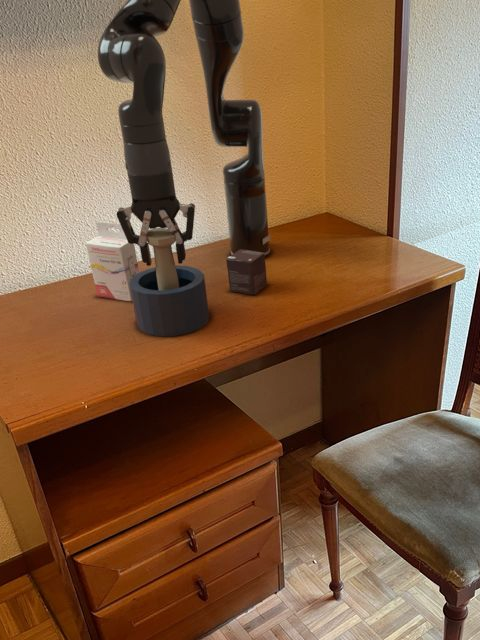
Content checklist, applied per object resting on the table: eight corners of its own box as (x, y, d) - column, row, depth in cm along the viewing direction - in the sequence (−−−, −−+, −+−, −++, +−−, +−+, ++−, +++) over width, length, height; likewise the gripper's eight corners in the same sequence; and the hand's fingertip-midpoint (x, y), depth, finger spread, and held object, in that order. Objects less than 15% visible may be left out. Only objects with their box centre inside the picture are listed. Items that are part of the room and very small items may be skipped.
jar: (141, 307, 134) (133, 267, 129) (209, 303, 135) (204, 263, 130) (133, 338, 123) (124, 296, 118) (208, 333, 124) (202, 291, 119)
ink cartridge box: (96, 297, 139) (80, 228, 130) (109, 288, 142) (94, 220, 134) (131, 302, 136) (117, 231, 128) (144, 292, 140) (131, 223, 132)
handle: (168, 318, 124) (155, 241, 116) (153, 307, 129) (140, 231, 120) (191, 312, 127) (180, 235, 118) (176, 301, 131) (164, 226, 122)
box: (267, 285, 142) (265, 252, 138) (254, 296, 137) (251, 262, 133) (243, 281, 144) (240, 248, 140) (229, 291, 140) (225, 258, 135)
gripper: (192, 160, 116) (204, 253, 126) (109, 164, 115) (127, 258, 125) (190, 171, 110) (203, 268, 120) (103, 175, 109) (122, 273, 119)
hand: (164, 262), depth 122 cm, fingers closed on handle, 5 cm apart
